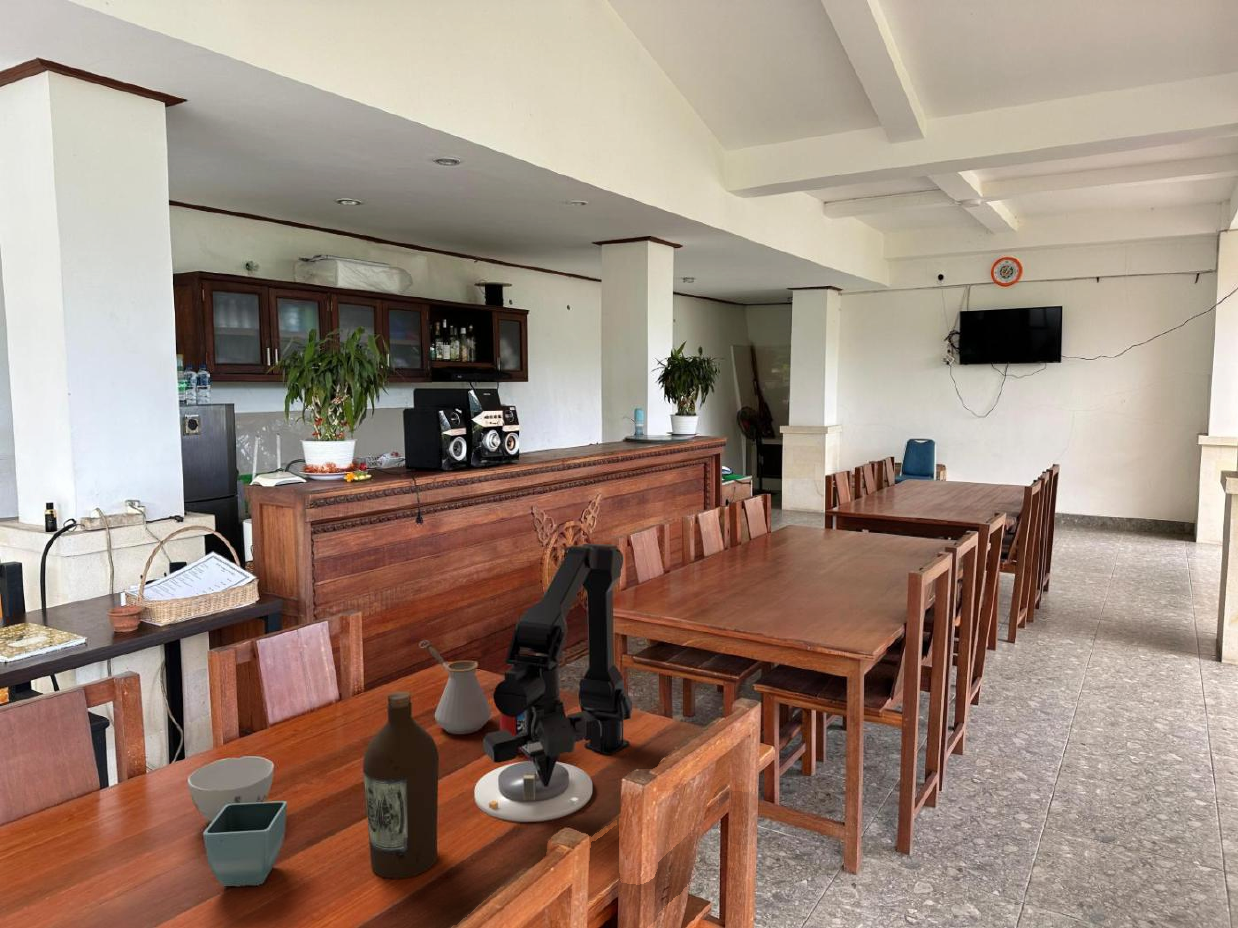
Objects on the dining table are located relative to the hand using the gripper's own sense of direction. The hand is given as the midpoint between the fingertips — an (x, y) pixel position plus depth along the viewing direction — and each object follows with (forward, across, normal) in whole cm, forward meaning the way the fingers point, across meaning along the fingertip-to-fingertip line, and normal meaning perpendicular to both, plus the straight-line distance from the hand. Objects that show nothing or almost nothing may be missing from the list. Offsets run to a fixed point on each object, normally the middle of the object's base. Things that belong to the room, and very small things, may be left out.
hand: (545, 785), depth 138 cm
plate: (+4, +1, +7) cm, 8 cm away
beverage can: (+4, +5, +25) cm, 26 cm away
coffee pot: (+4, -2, +45) cm, 45 cm away
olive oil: (+4, -24, -4) cm, 25 cm away
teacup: (+3, -45, +23) cm, 51 cm away
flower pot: (+3, -44, +3) cm, 45 cm away
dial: (+3, 0, +6) cm, 6 cm away
